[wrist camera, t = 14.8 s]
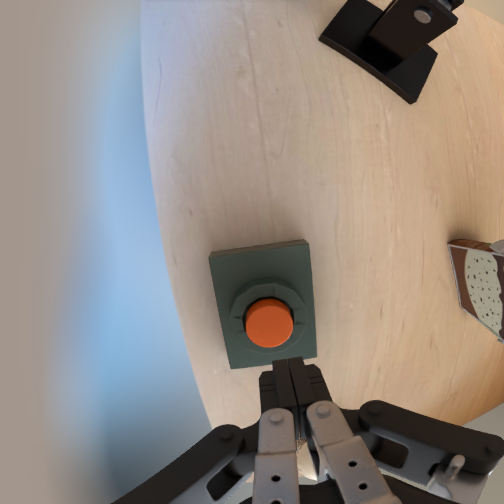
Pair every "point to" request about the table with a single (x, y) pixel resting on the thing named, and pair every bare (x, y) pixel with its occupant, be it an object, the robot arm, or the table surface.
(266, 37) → the table surface
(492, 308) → the food container
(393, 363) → the table surface
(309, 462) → the cream ball
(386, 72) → the bracket
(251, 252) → the button box
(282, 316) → the button
